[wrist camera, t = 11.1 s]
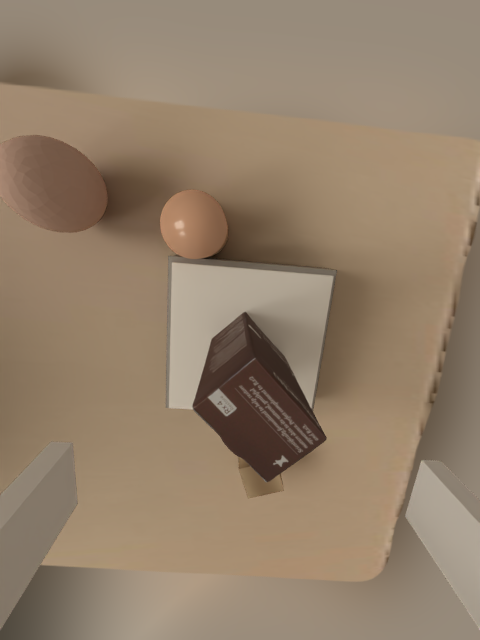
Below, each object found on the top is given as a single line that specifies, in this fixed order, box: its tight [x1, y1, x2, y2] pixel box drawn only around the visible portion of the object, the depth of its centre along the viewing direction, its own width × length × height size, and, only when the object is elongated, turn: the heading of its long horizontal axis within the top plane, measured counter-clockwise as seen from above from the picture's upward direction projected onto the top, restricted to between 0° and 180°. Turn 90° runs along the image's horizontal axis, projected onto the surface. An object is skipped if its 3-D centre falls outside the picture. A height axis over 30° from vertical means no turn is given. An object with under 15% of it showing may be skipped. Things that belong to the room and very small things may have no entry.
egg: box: [0, 135, 107, 232], centre depth 21 cm, size 7×7×9 cm
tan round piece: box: [160, 190, 229, 259], centre depth 23 cm, size 5×5×6 cm
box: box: [192, 312, 326, 482], centre depth 19 cm, size 6×4×12 cm
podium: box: [166, 255, 337, 411], centre depth 27 cm, size 15×15×4 cm
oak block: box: [239, 457, 284, 499], centre depth 31 cm, size 4×4×4 cm
